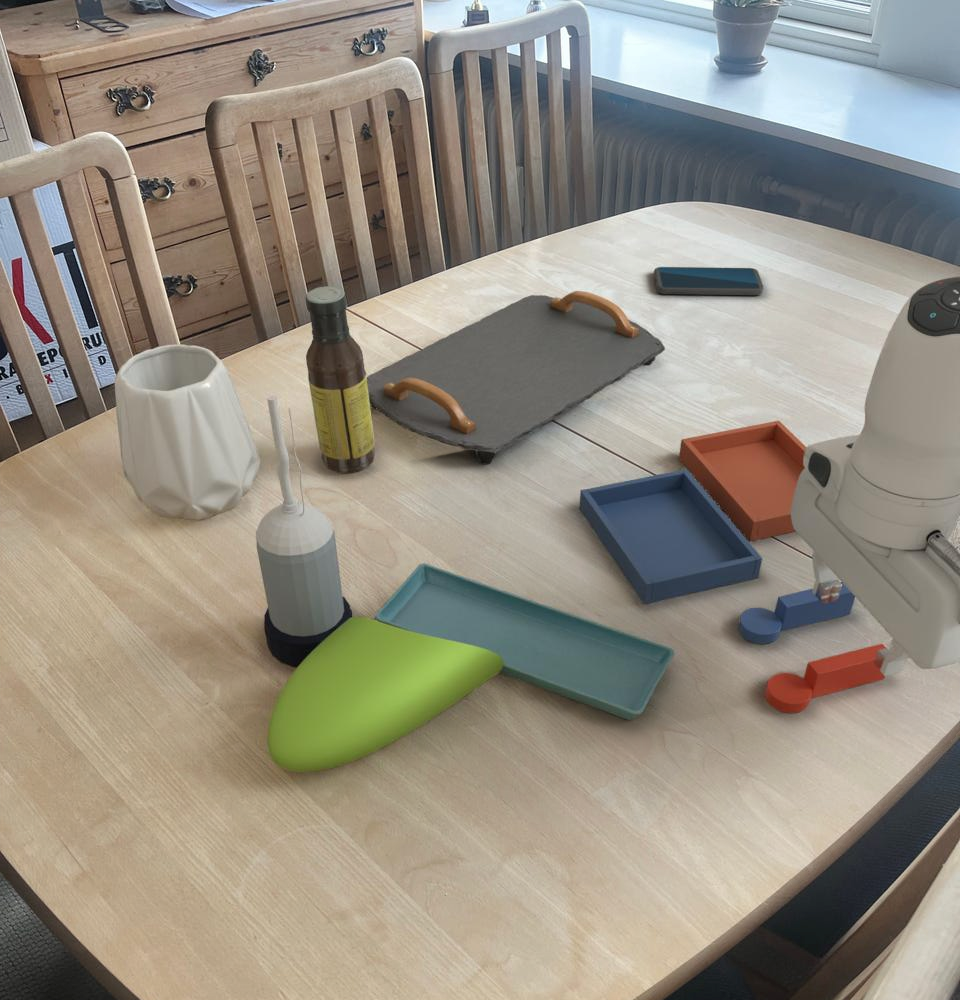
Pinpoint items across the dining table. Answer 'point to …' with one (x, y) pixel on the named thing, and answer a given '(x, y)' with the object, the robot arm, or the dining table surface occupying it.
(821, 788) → the dining table surface
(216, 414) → the vase
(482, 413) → the serving tray
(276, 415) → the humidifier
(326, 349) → the sauce bottle
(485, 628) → the shallow long dish
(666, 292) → the smartphone
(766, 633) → the spoon blue
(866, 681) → the red bar with disc
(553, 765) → the dining table surface
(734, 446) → the tray red
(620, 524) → the tray blue
